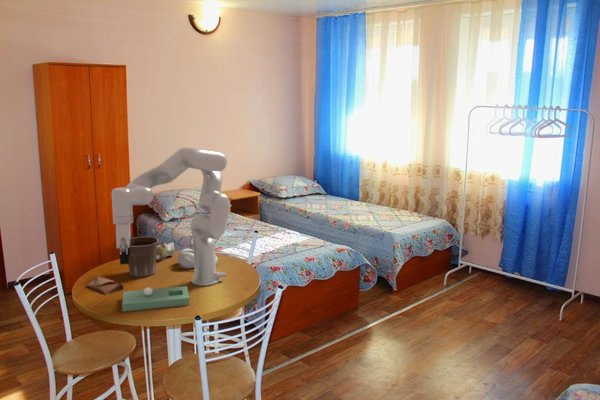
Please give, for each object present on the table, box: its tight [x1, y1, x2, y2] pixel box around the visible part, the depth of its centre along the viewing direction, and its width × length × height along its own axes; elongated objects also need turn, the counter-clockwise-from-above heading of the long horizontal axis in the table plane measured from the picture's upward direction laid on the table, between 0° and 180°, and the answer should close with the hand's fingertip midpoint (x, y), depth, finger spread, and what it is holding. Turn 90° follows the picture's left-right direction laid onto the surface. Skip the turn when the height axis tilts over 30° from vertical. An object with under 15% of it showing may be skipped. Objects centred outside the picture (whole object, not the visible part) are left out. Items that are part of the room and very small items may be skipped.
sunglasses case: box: [84, 275, 124, 296], centre depth 233 cm, size 18×7×7 cm, turn 54°
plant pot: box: [127, 236, 159, 278], centre depth 250 cm, size 16×16×16 cm
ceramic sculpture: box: [156, 241, 175, 261], centre depth 276 cm, size 11×9×15 cm
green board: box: [121, 285, 190, 313], centre depth 217 cm, size 26×14×3 cm, turn 105°
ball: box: [143, 286, 153, 296], centre depth 216 cm, size 4×4×4 cm
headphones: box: [177, 248, 219, 269], centre depth 265 cm, size 18×8×20 cm
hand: (125, 260), depth 211 cm, fingers open, 9 cm apart
